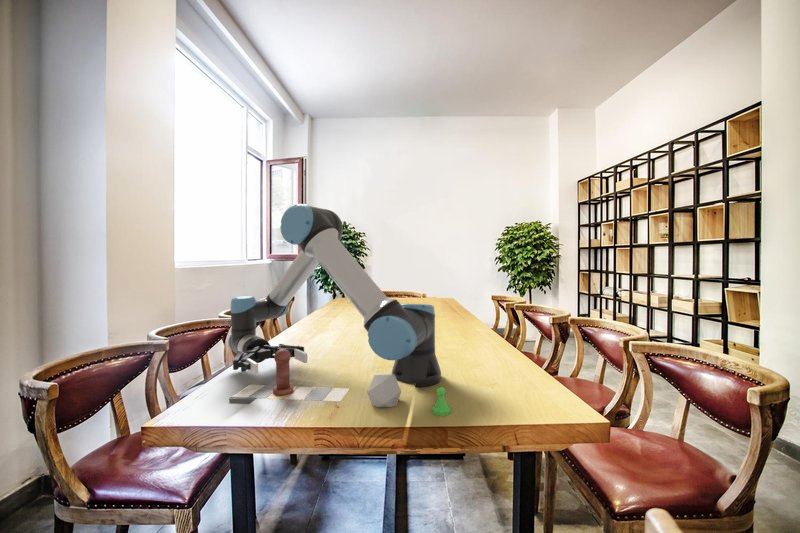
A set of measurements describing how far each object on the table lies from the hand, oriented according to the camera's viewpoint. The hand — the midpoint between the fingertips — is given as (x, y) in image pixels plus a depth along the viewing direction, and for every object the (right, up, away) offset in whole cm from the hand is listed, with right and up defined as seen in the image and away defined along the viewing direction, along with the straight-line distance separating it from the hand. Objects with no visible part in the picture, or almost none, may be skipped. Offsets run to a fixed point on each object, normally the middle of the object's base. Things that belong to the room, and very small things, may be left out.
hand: (282, 363), depth 92 cm
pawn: (0, -8, +1) cm, 8 cm away
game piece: (+41, -9, -10) cm, 44 cm away
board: (+2, -9, 0) cm, 9 cm away
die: (+28, -9, -7) cm, 30 cm away
